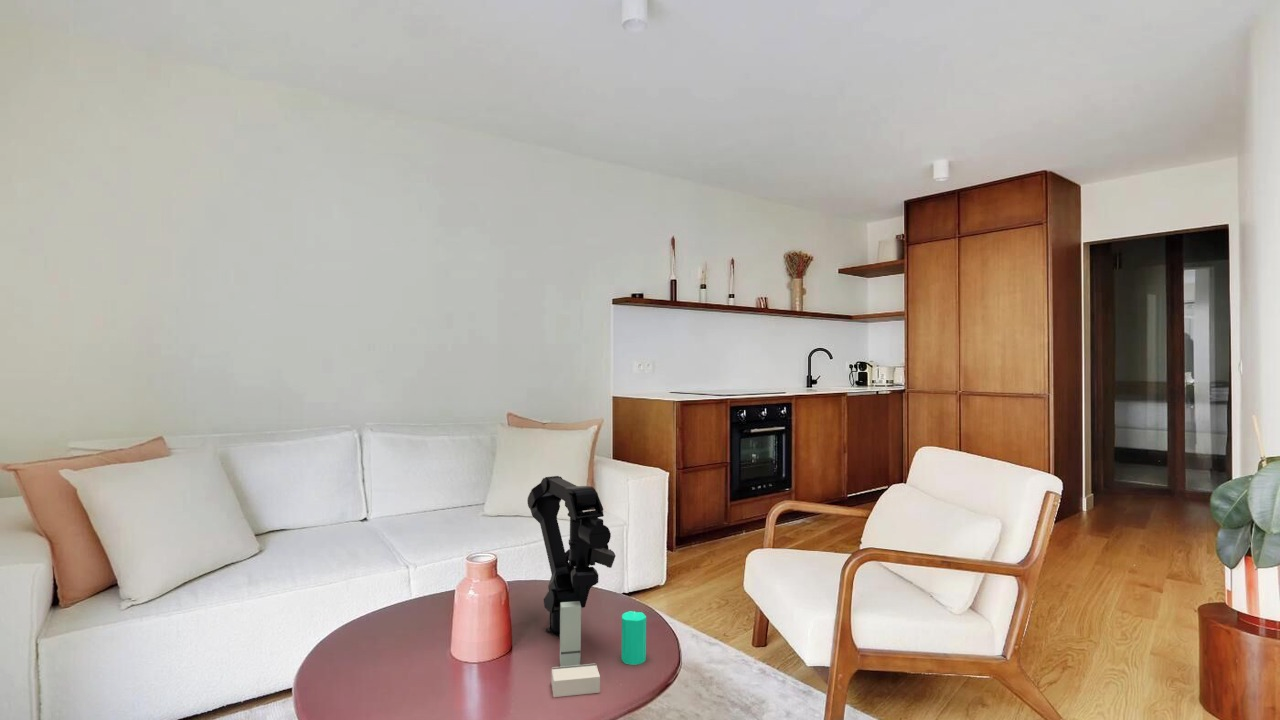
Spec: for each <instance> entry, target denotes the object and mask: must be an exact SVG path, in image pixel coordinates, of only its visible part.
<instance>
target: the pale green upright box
mask: <svg viewBox="0 0 1280 720" xmlns="http://www.w3.org/2000/svg"><path fill="white" fill-rule="evenodd" d="M581 633H582V608H581V604H580V601H574V602H560V637H559V665H560V667H563V666H573V665H581V652H582V651H581V649H582V647H581V645H582V642H581V641H582V639H581V638H582V634H581Z"/></svg>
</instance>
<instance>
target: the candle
mask: <svg viewBox="0 0 1280 720" xmlns="http://www.w3.org/2000/svg"><path fill="white" fill-rule="evenodd" d="M646 648H647V616H646V614H645V613H643V611H641V612H639V611H635V609H633V611H632V610H630V611H626V612H624V613H622V614H621V662H623V663H624V664H627V665H631V666H632V665H634V666H635V665H637V664H638V665H641V664H643V663H645V662H646V660H647V659H646V658H647V649H646ZM638 665H637V666H638Z"/></svg>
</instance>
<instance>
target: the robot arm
mask: <svg viewBox="0 0 1280 720" xmlns="http://www.w3.org/2000/svg"><path fill="white" fill-rule="evenodd" d="M600 499H601V498H600V497H599V493H598V492H597V490H596V488H594V487H593V486H591V485H590V486H589V485H576V484H574V483H572V482H570V481H568V480H566V479H563V477H562V476H559V475H554V476H553V475H552V476H545V477H542V479H541V481H540V483H538V484H536V485H535V486H534V487H533V488H531V490H530V492H529V494H528V497H527V507H528V509H529V510H530V512H531V516H532V518H534V519H535V521H536V522H538V524H539V526H540V529H541V530H540V531H541V534H542V538H543V542H544V546H545V550H546V555H547V560H548V563H549V569H550V572H551V577H550V580H549V582H548V585H547V586H548V587H547V589H548V592H547V593H546V595H545V597H544V598H543V605H544V608H545V610H546V611H548V612H549V626H548V627H546V628H545V632H546V633H549V634H551V635H554V636H556V637H559V638H560V602H574V601H580V604H581V609H582V608H585V607H586V605H587V602H588V598H589V594H590V590H591V588H593V586H596V585H597V584H598V583H599V573H598V570H597V569H596V568H595V567H593V566H596V564H599V565H602V566H605V567H606V568H609V569H611V568H612V566H613V564H614V561H615V558H616V554H615V552H614V551H613V550H612V549H611V548H610V549H609V543H610V541H611V537H612V536H611V533H612V532H611V531H610V529H609V527H608V526H607V525H605V524H604V519H603V518H602V517H604V515H605V514H604V511H603V510H604V507H603V505H602V502H601V500H600ZM562 501H564V507H565V508H566V509H567V511H568V513H567V516H568V518H569V539H568V545H569V549H567V550H566V549H565V547H564V541H563V538H562V537H563V536H562V534H561V530H560V526H559V522H558V514H559V511H560V508H561V502H562Z"/></svg>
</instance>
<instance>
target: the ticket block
mask: <svg viewBox="0 0 1280 720" xmlns="http://www.w3.org/2000/svg"><path fill="white" fill-rule="evenodd" d="M598 669H599V668H598V666H597V663H588V664H587V663H585V664H580V665H573V666H563V667H561V666H553V667H551V672H550V673H551V689H552V695H553V698H560V697H570V696H580V695H590V694H599V693H601V675H600V673H599V670H598Z"/></svg>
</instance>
